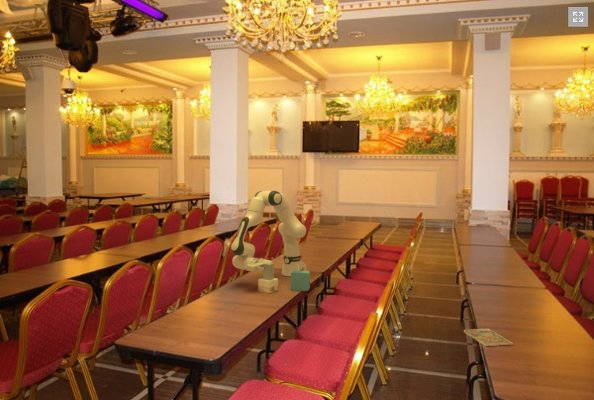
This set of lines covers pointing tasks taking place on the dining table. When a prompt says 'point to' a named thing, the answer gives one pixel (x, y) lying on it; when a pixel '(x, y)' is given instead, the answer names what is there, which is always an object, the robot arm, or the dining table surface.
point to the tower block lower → (267, 289)
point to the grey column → (268, 271)
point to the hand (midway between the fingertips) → (268, 267)
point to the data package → (300, 280)
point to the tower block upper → (267, 282)
